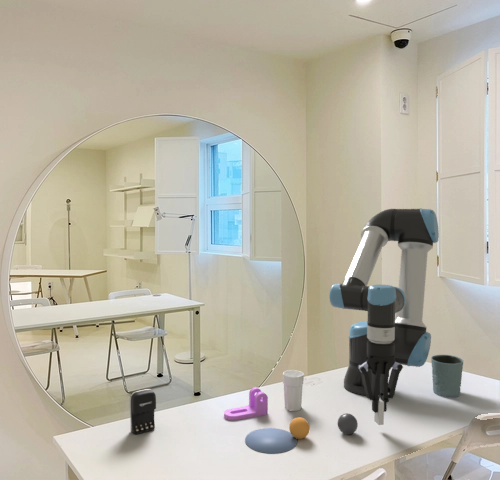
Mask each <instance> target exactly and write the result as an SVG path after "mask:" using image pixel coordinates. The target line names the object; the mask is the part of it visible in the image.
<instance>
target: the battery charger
mask: <svg viewBox="0 0 500 480" xmlns="http://www.w3.org/2000/svg"><path fill="white" fill-rule="evenodd" d="M156 409H157V396H156V393H155V392H154V391H153V389H151V388H144V389H139V390H136V391H133V392H131V394H130V396H129V416H130V432H131V433H132V434H134V435H139V434H140V435H141V434H143V433H147V432H150V431H153V430H155V427H156V425H155V423H156V422H155V410H156Z"/></svg>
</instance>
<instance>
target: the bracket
mask: <svg viewBox="0 0 500 480" xmlns="http://www.w3.org/2000/svg"><path fill="white" fill-rule="evenodd" d="M248 394H249V395H248V397H249V399H248V405H244V406H239V407H232V408H229V409H226V410H224V411H223V418H224V419H225V420H228V421H238V420H243V419H249V418H254V417H255V418H256V417H259V416H266V415H268V408H269V405H268V404H269V400H268V399H269V397H268V395H267V394H266V393H265V392H264V391H262V390H261V389H260V388H259V387H257V386H254V387H252V388H251V389H250V390H249V393H248Z"/></svg>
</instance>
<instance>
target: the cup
mask: <svg viewBox="0 0 500 480" xmlns="http://www.w3.org/2000/svg"><path fill="white" fill-rule="evenodd" d="M304 378H305V374H304V372H303V371H300V370H295V369H287V370H285V371H283V372H282V381H283V382H282V384H283V395H284V396H283V397H284V409H286V410H287V411H291V412H296V411H300V410H301V409H302V401H303V400H302V399H303V385H304Z"/></svg>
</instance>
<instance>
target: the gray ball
mask: <svg viewBox="0 0 500 480" xmlns="http://www.w3.org/2000/svg"><path fill="white" fill-rule="evenodd" d="M358 427H359V426H358V420H357V418H356V417H355V416H354V415H353V414H351V413H343V414H341V415H340V416H339V418H338V419H337V428H338V429H339V431H340V432H341V433H343V434H344V435H353V434H355V432H356V431H357V429H358Z"/></svg>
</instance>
